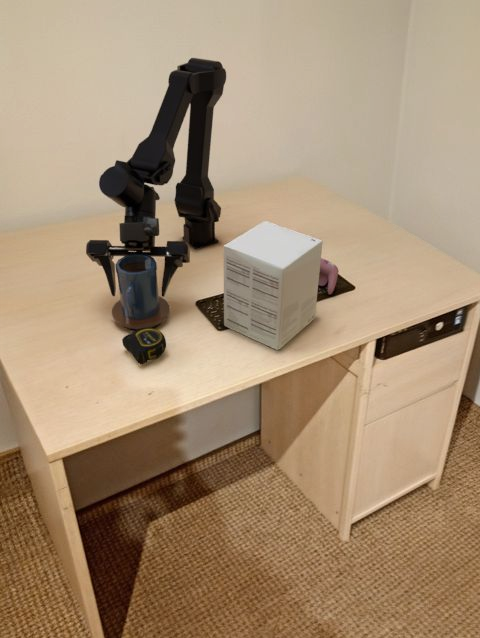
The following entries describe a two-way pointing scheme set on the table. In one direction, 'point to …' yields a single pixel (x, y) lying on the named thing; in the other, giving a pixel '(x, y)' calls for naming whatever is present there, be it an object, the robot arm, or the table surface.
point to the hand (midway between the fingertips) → (138, 296)
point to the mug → (139, 293)
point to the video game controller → (328, 275)
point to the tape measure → (145, 344)
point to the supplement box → (271, 283)
